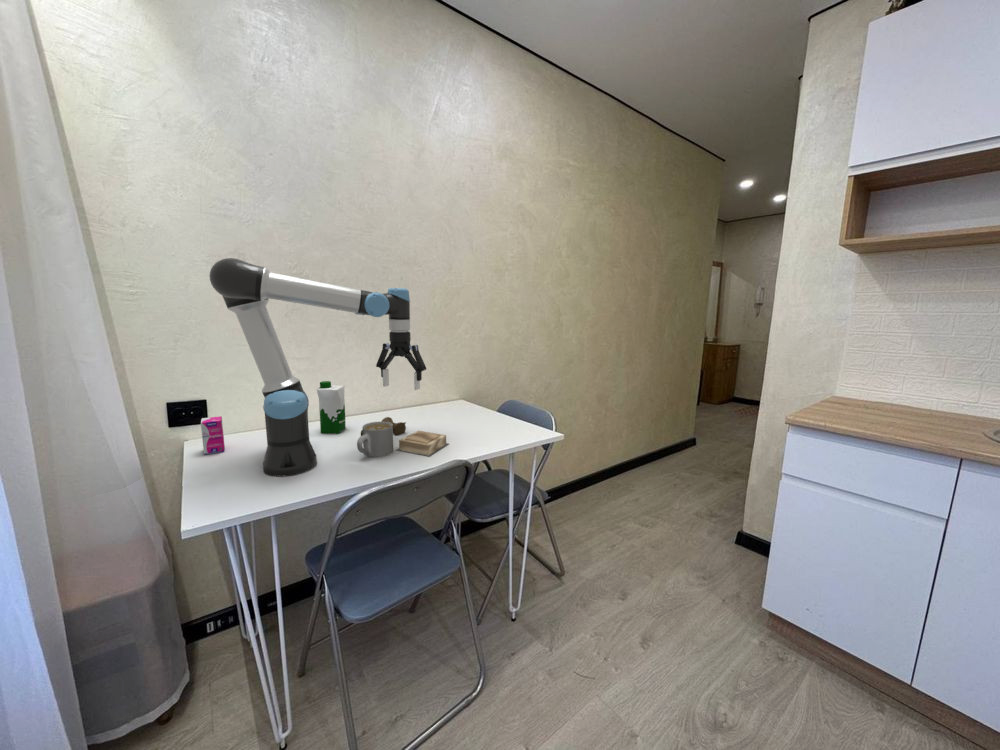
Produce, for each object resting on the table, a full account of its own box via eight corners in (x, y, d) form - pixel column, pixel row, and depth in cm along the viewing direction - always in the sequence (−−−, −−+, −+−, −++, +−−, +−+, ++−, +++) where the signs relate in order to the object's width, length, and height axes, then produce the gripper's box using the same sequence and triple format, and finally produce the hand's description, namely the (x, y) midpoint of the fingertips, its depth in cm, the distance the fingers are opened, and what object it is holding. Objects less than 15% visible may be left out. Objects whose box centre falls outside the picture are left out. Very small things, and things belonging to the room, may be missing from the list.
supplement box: (203, 455, 133) (199, 422, 130) (204, 449, 137) (201, 418, 135) (224, 452, 136) (221, 420, 134) (225, 446, 141) (221, 415, 138)
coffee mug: (383, 446, 145) (382, 419, 143) (399, 453, 138) (398, 425, 136) (348, 456, 135) (347, 427, 133) (363, 464, 128) (362, 434, 127)
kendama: (356, 440, 151) (398, 426, 167) (371, 447, 146) (413, 432, 161) (355, 425, 150) (398, 413, 166) (370, 431, 144) (413, 418, 160)
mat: (429, 458, 134) (429, 457, 134) (395, 452, 139) (395, 450, 139) (449, 445, 147) (449, 443, 147) (417, 439, 152) (417, 438, 152)
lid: (428, 455, 135) (428, 444, 135) (399, 449, 140) (399, 439, 139) (446, 444, 146) (446, 434, 146) (418, 439, 151) (418, 429, 150)
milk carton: (327, 427, 164) (324, 379, 161) (349, 427, 164) (346, 380, 160) (317, 434, 156) (314, 384, 152) (340, 434, 156) (337, 384, 152)
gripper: (435, 331, 145) (435, 388, 149) (377, 329, 153) (379, 382, 157) (424, 333, 138) (425, 392, 142) (364, 330, 146) (367, 386, 150)
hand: (401, 387), depth 150 cm, fingers open, 13 cm apart
